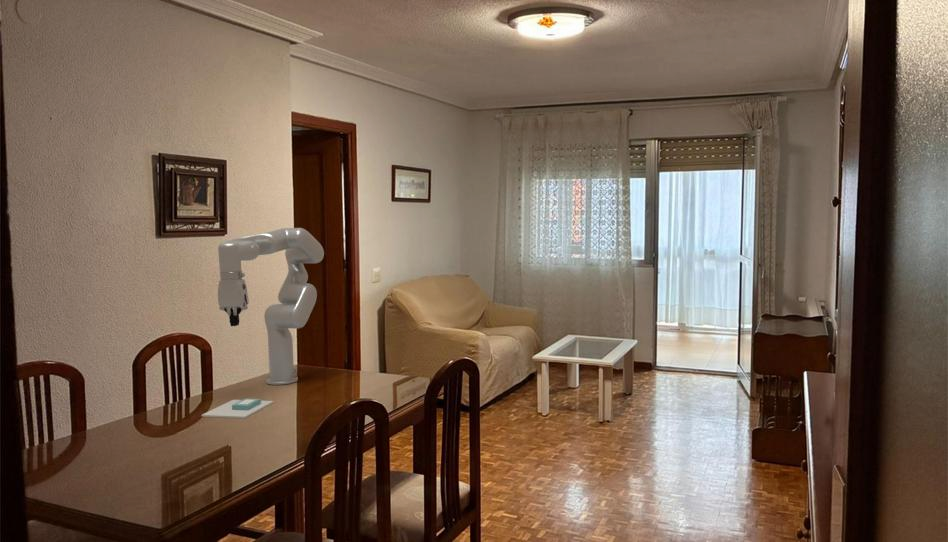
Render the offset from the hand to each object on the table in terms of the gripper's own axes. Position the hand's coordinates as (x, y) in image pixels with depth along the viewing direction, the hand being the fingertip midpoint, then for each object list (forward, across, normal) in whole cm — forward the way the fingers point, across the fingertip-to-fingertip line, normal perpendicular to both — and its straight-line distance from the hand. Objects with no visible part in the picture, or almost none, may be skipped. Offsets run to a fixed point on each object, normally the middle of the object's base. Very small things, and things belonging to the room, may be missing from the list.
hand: (234, 325), depth 261 cm
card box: (+25, -8, +16) cm, 30 cm away
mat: (+26, -9, +18) cm, 33 cm away
